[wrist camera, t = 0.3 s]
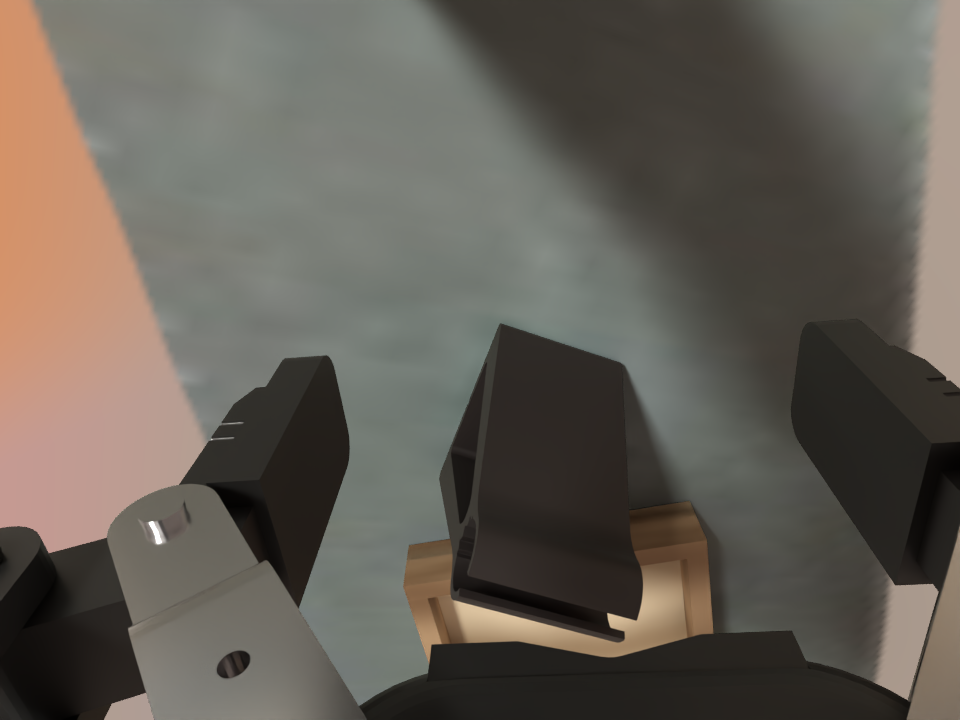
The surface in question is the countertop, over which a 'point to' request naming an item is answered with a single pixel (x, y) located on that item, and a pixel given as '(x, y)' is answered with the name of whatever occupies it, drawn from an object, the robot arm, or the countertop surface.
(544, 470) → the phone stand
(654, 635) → the shallow tray
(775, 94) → the countertop surface
